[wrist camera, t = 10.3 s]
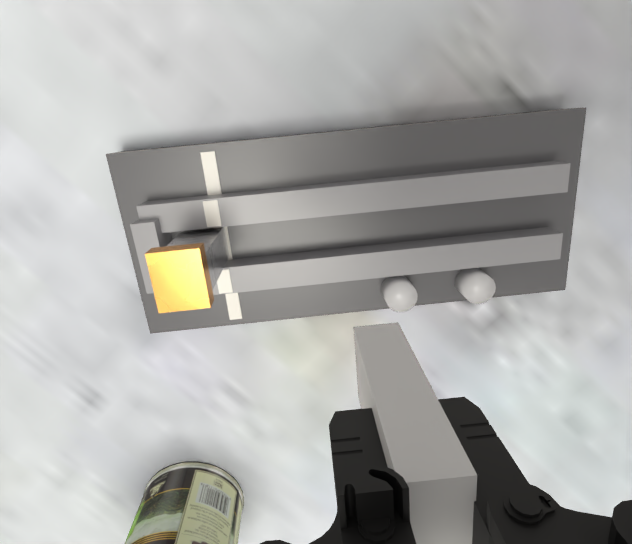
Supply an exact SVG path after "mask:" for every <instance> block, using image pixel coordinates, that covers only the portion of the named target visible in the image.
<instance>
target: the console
mask: <svg viewBox="0 0 632 544" xmlns="http://www.w3.org/2000/svg"><path fill="white" fill-rule="evenodd" d="M585 114H586V108H572V109H557V110H547V111H537V112H526V113H516V114H506V115H495V116H485V117H475V118H464V119H454V120H444V121H433V122H423V123H413V124H402V125H392V126H382V127H371V128H361V129H351V130H340V131H330V132H320V133H309V134H299V135H289V136H278V137H268V138H258V139H247V140H237V141H227V142H216V143H206V144H196V145H185V146H175V147H165V148H154V149H144V150H134V151H123V152H116V153H110V154H106V157H107V161H108V165H109V169H110V173H111V177H112V181H113V185H114V189H115V193H116V197H117V201H118V205H119V209H120V213H121V217H122V221H123V225H124V229H125V233H126V237H127V241H128V245H129V249H130V253H131V257H132V261H133V265H134V269H135V273H136V277H137V282H138V286H139V290H140V294H141V298H142V302H143V306H144V310H145V314H146V318H147V322H148V326H149V330H150V333H159V332H169V331H178V330H188V329H197V328H207V327H216V326H226V325H235V324H245V323H254V322H264V321H273V320H283V319H292V318H302V317H311V316H321V315H330V314H340V313H349V312H359V311H368V310H378V309H387V308H390V309H391V310H393V311H395V312H406V311H408V310H410V309H411V308H412V307H413V306H416V305H425V304H435V303H444V302H454V301H463V300H468V301H469V302H471V303H473V304H482V303H485V302H487V301H489V300H490V299H491V298H492V297H501V296H511V295H520V294H530V293H539V292H549V291H558V290H565V287H566V278H567V270H568V261H569V252H570V244H571V235H572V226H573V218H574V209H575V200H576V192H577V183H578V174H579V166H580V157H581V148H582V140H583V131H584V122H585ZM216 227H224V229H225V234H226V240H227V246H228V252H229V258H228V260H227V262H226V264H225V266H224V268H223V270H222V272H221V274H220V276H219V278H218V280H217V283H216V285H215V287H214V289H213V296H214V301H213V304H212V306H211V308H204V309H195V310H185V311H176V312H166V313H159V312H158V308H157V304H156V300H155V295H154V291H153V287H152V283H151V278H150V274H149V270H148V266H147V262H146V257H145V253H146V252H147V251H149V250H150V249H151V248H156V247H166V246H167V245H168V244H169V243H170V242H171V241H172V240H173V239H174V238H175V237H176V236H177V235H178V234H179V233H180V232H182V231H186V230H196V229H206V228H216Z"/></svg>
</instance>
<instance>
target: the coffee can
mask: <svg viewBox="0 0 632 544" xmlns="http://www.w3.org/2000/svg"><path fill="white" fill-rule="evenodd" d="M243 500H244V499H243V493H242V490H241V488H240V486H239V484H238V483H237V482H236V480H235V479H234V478H233V477H232V476H230V475H229V474H228V473H226V472H225V471H223V470H222V469H220V468H218V467H215V466H212V465H209V464H204V463H199V462H195V463H192V462H187V463H179V464H175V465H172V466H169V467H167V468H165V469H163V470H161V471H159V472H158V473H157V474H156V475H155V476H154V477H153V478H152V479H151V480H150V481H149V483H148V484H147V486H146V489H145V492H144V495H143V498H142V501H141V504H140V506H139V509H138V511H137V514H136V516H135V519H134V521H133V524H132V526H131V529H130V531H129V534H128V536H127V539H126V542H125V544H237V543H238V536H239V528H240V520H241V512H242V509H243Z"/></svg>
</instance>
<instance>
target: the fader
mask: <svg viewBox="0 0 632 544" xmlns="http://www.w3.org/2000/svg"><path fill="white" fill-rule="evenodd" d="M145 257H146V262H147V266H148V270H149V274H150V278H151V283H152V287H153V291H154V295H155V300H156V304H157V308H158V312H159V313H166V312H176V311H185V310H195V309H204V308H211V306H212V304H213V301H214V296H213V289H214V287H215V285H216V283H217V280H218V278H219V276H220V274H221V272H222V270H223V268H224V266H225V264H226V262H227V260H228V258H229V252H228V246H227V240H226V234H225V229H224V227H216V228H206V229H196V230H186V231H182V232H180V233H179V234H178V235H177V236H176V237H175V238H174V239H173V240H172V241H171V242H170V243H169V244H168V245H167V246H166V247H156V248H151V249H150V250H149V251H147V252H146V253H145Z"/></svg>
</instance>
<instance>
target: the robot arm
mask: <svg viewBox="0 0 632 544" xmlns="http://www.w3.org/2000/svg"><path fill="white" fill-rule="evenodd" d="M354 340H355V355H356V370H357V384H358V397H359V401H360V405H361V409H356V410H346V411H336V412H335V413H334V416H333V418H332V420H331V422H330V424H329V430H330V440H331V450H332V460H333V470H334V480H335V489H336V498H337V515H336V518H335V521H334V523H333V524H332V526H331V527H330V529H329V530H328V531H327V532H326V533H325V534H324V535H323V536H322V537H320V538H318V539H317V540H315V541H313V542H311V543H309V544H632V500H629V501H622V502H621V503H620V504H618V505H617V506H616V507H614V511H613V516H612V517H606V516H600V515H594V514H588V513H582V512H577V511H573V510H569V509H565V508H563V507H561V506H560V505H559V504H558V503H557V502H556V501H555V500H554V499H553V498H552V497H551V496H550V495H549V494H547V493H546V492H544V491H543V490H541V489H539V488H538V487H536V486H533V485H530V484H529V483H528V482H527V480H526V478H525V477H524V475H523V474H522V472H521V471H520V469H519V468H518V466H517V465H516V463H515V462H514V460H513V459H512V457H511V455H510V454H509V452H508V451H507V449H506V448H505V446H504V445H503V443H502V442H501V440H500V439H499V437H497V435H496V433H495V431H494V429H493V428H492V426H491V425H489V422H488V420H487V419H486V417H485V416H484V414H483V413H482V411H481V410H480V408H479V407H477V406H476V405H475V404H473V403H472V402H470V401H469V400H468V399H466V398H465V397H458V398H449V399H439V400H438V399H437V397H436V395H435V393H434V391H433V389H432V387H431V385H430V383H429V381H428V379H427V377H426V376H425V374H424V372H423V370H422V368H421V366H420V364H419V362H418V360H417V358H416V356H415V354H414V352H413V351H412V349H411V347H410V345H409V343H408V341H407V339H406V337H405V335H404V333H403V331H402V329H401V328H400V326H399V324H398V323H388V324H378V325H369V326H359V327H354ZM260 544H290V543H287V542H284V541H281V540H273V541H265V542H263V543H260Z"/></svg>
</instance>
